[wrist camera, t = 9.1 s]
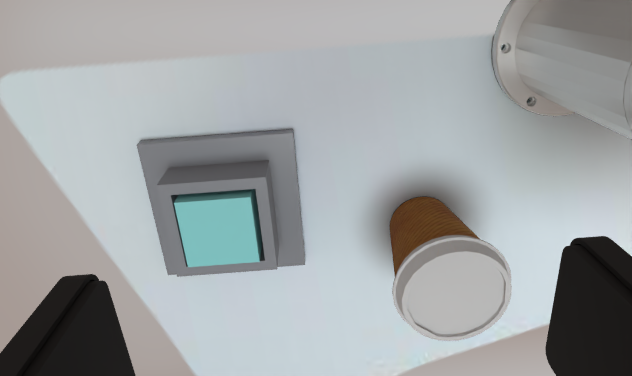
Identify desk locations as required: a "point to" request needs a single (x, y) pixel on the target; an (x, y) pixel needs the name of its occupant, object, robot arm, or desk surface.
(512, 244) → the desk surface
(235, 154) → the button housing
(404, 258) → the disposable coffee cup
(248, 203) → the button cap
